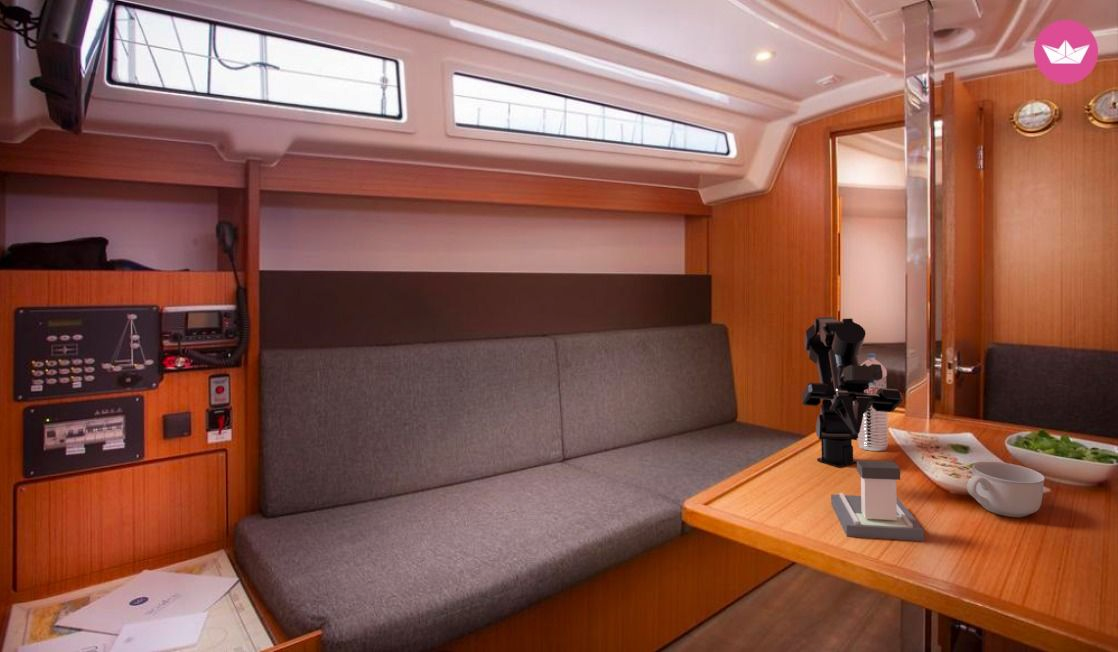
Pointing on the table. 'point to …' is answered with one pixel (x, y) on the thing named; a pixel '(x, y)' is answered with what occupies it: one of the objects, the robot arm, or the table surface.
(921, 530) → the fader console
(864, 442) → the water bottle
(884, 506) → the fader knob
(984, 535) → the table surface
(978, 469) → the teacup
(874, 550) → the table surface
